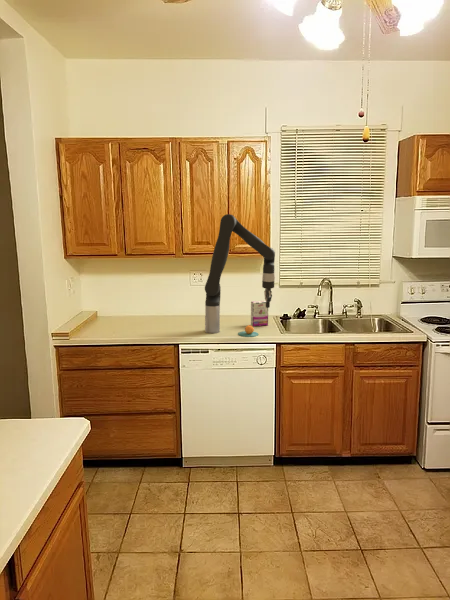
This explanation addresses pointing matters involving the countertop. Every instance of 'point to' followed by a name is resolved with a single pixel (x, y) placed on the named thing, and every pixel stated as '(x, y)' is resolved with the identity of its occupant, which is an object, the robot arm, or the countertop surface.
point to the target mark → (248, 334)
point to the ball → (249, 329)
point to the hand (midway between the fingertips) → (267, 307)
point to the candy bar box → (259, 313)
